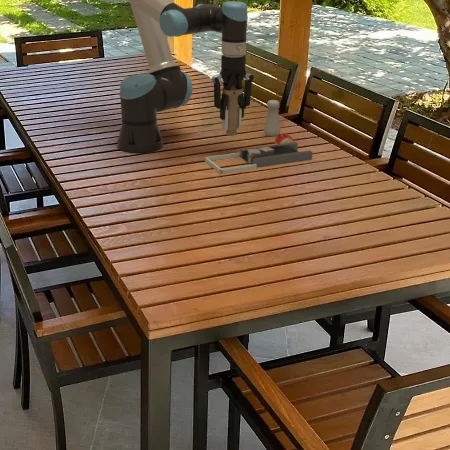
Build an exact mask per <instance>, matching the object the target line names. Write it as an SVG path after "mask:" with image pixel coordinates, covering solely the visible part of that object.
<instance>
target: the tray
mask: <svg viewBox="0 0 450 450" xmlns="http://www.w3.org/2000/svg"><path fill="white" fill-rule="evenodd" d="M234 158H241V157H240V152H234V153H226V154H218V155H212V156H210V155H209V156H204V157H203V159H204V160H203V161H204V162H205V163H206V164H207V165H209V166H210V167H211V168H213V169H214V170H215V171H216V172H217V173H219V174H221V175H222V174H223V175H224V174H229V173H231V174H232V173H238V172H244V171H250V170H256V169H257V168H258V167H257V165H256V164H253V165H251V164H248V165H241V166H232V167H226V168H221V167H220V166H219V165H218V164H217V163H215V162H214V161H220V160H228V159H234Z"/></svg>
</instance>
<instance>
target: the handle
mask: <svg viewBox="0 0 450 450" xmlns="http://www.w3.org/2000/svg"><path fill="white" fill-rule="evenodd" d="M221 89H222V90H221V91H222V92H223V94H225V93H226V95H228V96H229V97H228V101H227V106H226V109H227V110H228V130H226V131H225V132H226V134H225V135H227V136H231V137H234V136H237V133H238V131H237V130H238V128H237V127H238V107H239V106H238V96H239V95H241V94H242V93H243V94H244V88H243V87H242V89H237V88H235V86H231V89H230V90H225V89H223V88H221ZM222 92H221V93H222Z"/></svg>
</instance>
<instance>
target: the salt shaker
mask: <svg viewBox="0 0 450 450" xmlns="http://www.w3.org/2000/svg"><path fill="white" fill-rule="evenodd" d="M266 102H267V104H266V107H267V108H268V110H267V114H266V115H267V116H266V120H265V125H264V129H263V130H264V134H265V136H266V137H277V136H278V135H279V134H281V131H282V129H281V125H280V124H281V123H280V115H279V108H280V101H279V100H275V99H270V100H268V101H266Z"/></svg>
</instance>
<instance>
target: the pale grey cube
mask: <svg viewBox="0 0 450 450" xmlns="http://www.w3.org/2000/svg"><path fill="white" fill-rule="evenodd" d="M260 154H261V152H260V151H259V149H249V150H247V161H248V162H249V163H248V162H247V163H248V165H251V164H253V158H259V157H260Z"/></svg>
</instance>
